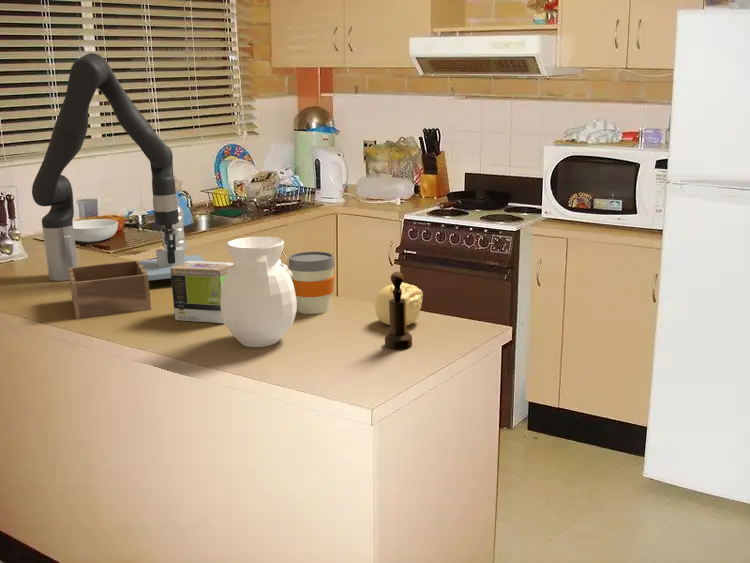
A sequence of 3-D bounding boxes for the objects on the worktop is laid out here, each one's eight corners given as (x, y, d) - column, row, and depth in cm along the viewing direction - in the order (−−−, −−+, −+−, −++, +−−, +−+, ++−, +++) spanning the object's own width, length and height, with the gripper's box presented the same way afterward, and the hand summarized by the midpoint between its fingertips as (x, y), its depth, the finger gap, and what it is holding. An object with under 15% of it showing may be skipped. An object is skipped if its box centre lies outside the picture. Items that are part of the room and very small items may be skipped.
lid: (132, 266, 278) (130, 246, 276) (199, 259, 286) (198, 239, 284) (140, 281, 258) (138, 260, 256) (212, 273, 266) (211, 252, 264)
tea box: (241, 314, 232) (237, 261, 229) (223, 325, 223) (219, 270, 219) (193, 310, 237) (188, 258, 233) (173, 320, 228) (168, 267, 224)
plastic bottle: (183, 254, 306) (178, 199, 301) (165, 254, 307) (160, 199, 302) (190, 251, 312) (185, 196, 307) (173, 250, 313) (168, 196, 308)
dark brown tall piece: (383, 341, 207) (381, 269, 202) (410, 340, 207) (409, 268, 203) (386, 350, 200) (384, 276, 196) (413, 349, 201) (412, 274, 196)
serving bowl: (110, 245, 326) (108, 227, 324) (56, 246, 326) (53, 229, 325) (126, 234, 346) (124, 217, 344) (75, 235, 346) (73, 219, 345)
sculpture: (409, 332, 213) (408, 290, 210) (367, 326, 219) (366, 285, 216) (429, 320, 222) (429, 280, 220) (388, 314, 228) (388, 275, 225)
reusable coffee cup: (305, 301, 243) (303, 249, 239) (344, 305, 237) (342, 253, 234) (282, 313, 232) (279, 259, 228) (322, 318, 227) (319, 263, 223)
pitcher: (305, 348, 203) (300, 245, 197) (228, 357, 198) (220, 252, 192) (290, 325, 221) (285, 231, 214) (219, 334, 216) (211, 237, 209)
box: (72, 300, 250) (68, 267, 247) (142, 292, 257) (139, 260, 255) (76, 318, 232) (71, 283, 229) (151, 309, 239) (147, 274, 237)
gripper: (150, 206, 272) (155, 258, 276) (156, 213, 259) (161, 268, 263) (174, 204, 275) (179, 256, 279) (181, 210, 262) (186, 265, 266)
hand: (170, 261), depth 271 cm, fingers closed on lid, 4 cm apart
